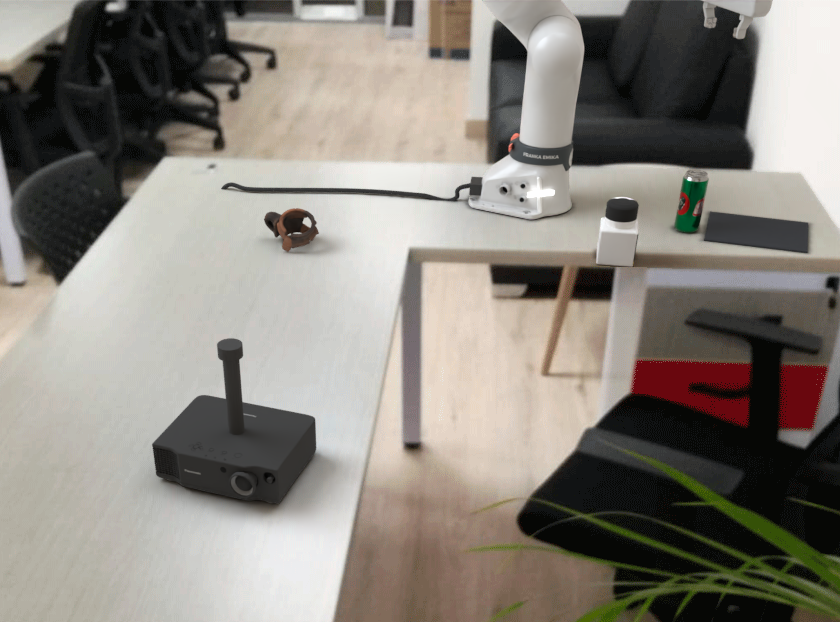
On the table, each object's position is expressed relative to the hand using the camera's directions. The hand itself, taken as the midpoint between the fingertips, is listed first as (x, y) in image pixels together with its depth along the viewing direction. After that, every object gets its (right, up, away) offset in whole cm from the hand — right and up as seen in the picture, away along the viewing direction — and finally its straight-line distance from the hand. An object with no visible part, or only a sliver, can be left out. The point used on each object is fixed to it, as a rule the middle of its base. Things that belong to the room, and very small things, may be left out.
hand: (723, 32), depth 211 cm
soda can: (-3, -35, +15) cm, 38 cm away
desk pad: (+12, -36, +13) cm, 40 cm away
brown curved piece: (-85, -39, +11) cm, 94 cm away
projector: (-90, -87, -55) cm, 137 cm away
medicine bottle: (-21, -44, +3) cm, 49 cm away
